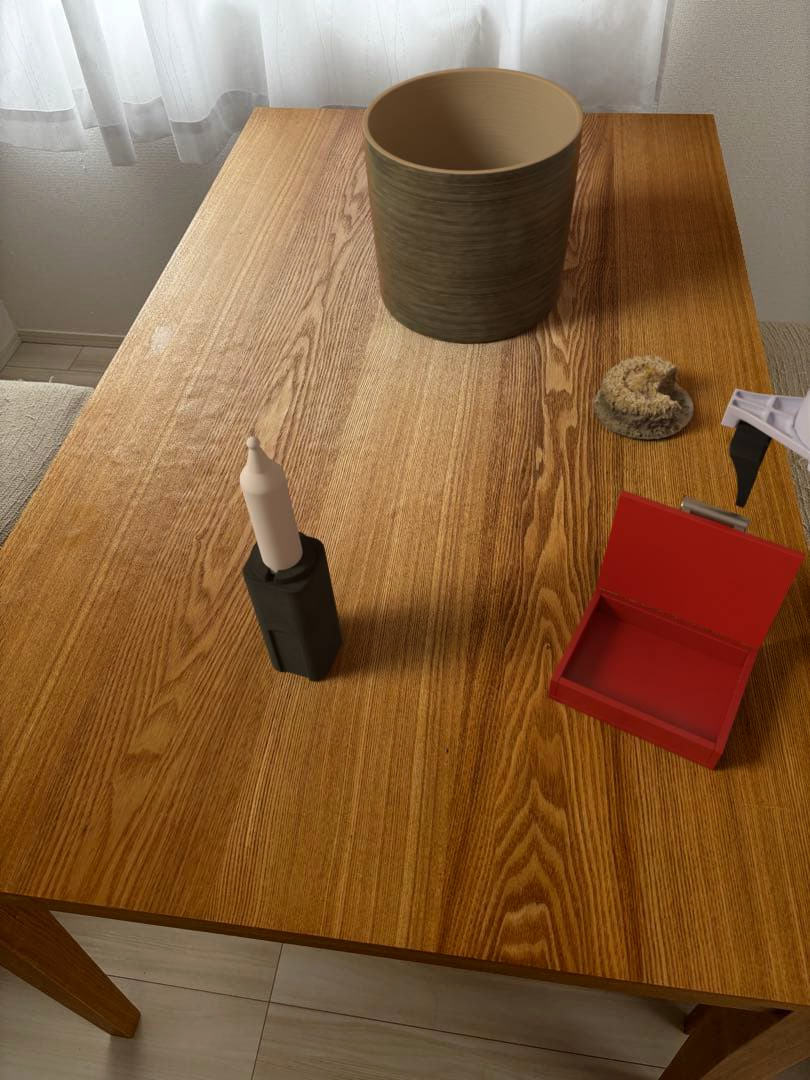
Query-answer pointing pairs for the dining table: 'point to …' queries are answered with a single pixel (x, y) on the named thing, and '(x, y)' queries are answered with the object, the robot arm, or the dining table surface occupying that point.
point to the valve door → (698, 566)
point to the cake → (643, 399)
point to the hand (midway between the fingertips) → (793, 516)
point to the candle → (287, 575)
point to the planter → (472, 199)
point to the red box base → (654, 677)
